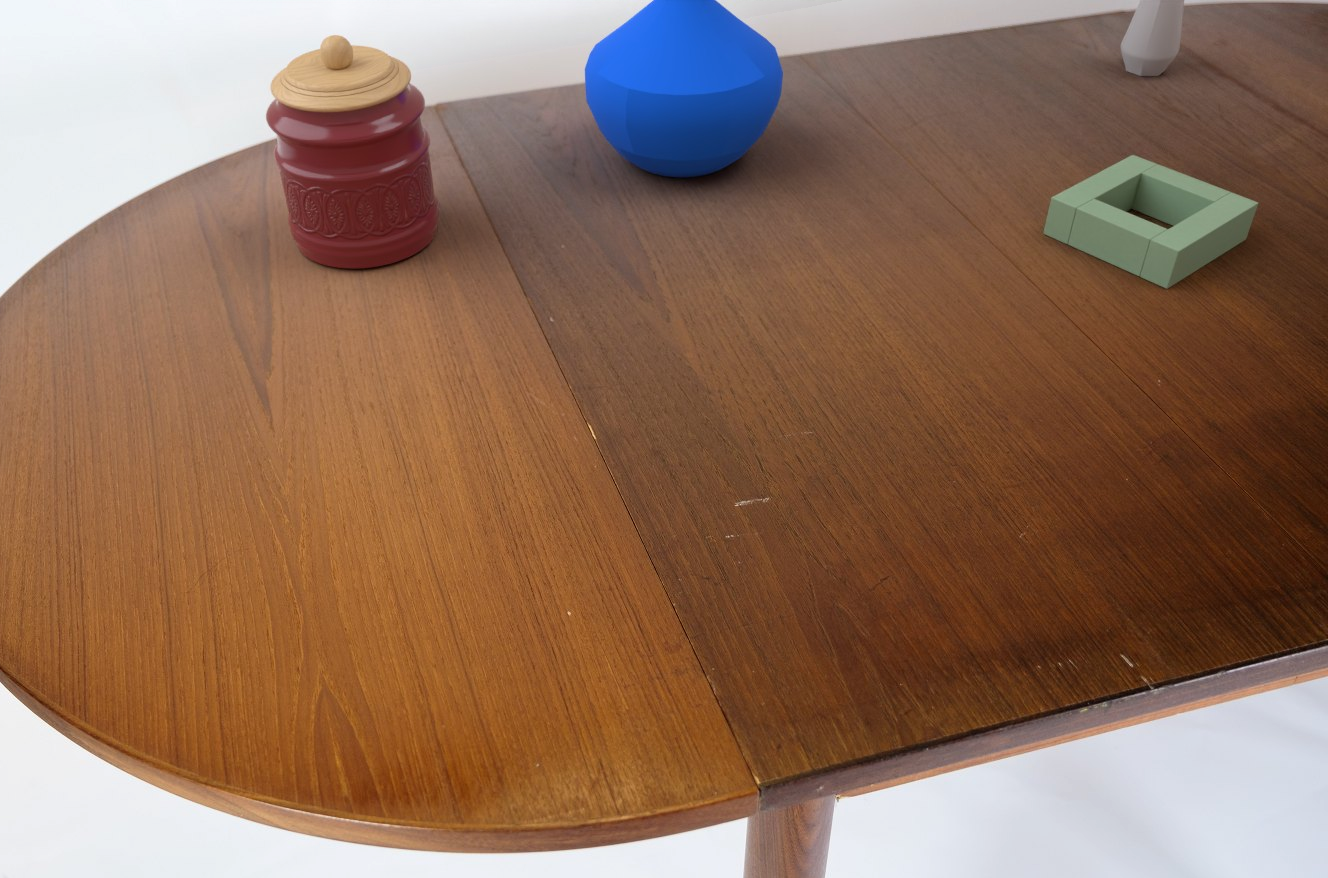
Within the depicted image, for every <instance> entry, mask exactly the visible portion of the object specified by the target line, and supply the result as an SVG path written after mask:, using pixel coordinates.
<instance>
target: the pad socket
mask: <svg viewBox="0 0 1328 878" xmlns="http://www.w3.org/2000/svg"><path fill="white" fill-rule="evenodd" d="M1258 206H1259V202H1257V201H1256V200H1252V199H1250V198H1247V197H1245V196H1243V195H1240V194H1237V193H1234V192H1232V191H1229V190H1226V189H1224V188H1221V187H1219V186H1216V185H1214V184H1211V183H1208V182H1206V181H1203V180H1201V179H1197V178H1196V177H1192V176H1190V175H1188V174H1185V173H1182V172H1179V171H1177V170H1174V169H1172V168H1170V167H1167V166H1163V165H1161V164H1158V163H1156V162H1153V161H1150V160H1148V159H1145V158H1143V157H1140V156H1137V155H1135V154H1131V155H1129V156H1128V157H1126V158H1124V159H1122V160H1120V161H1118V162H1116V163H1114V164H1112V165H1110V166H1108V167H1106V168H1105V169H1103V170H1100V171H1098V172H1096V173H1095V174H1093V175H1091V176H1090V177H1087V178H1086V179H1084V180H1082V181H1080V182H1078V183H1076V184H1074V185H1072V186H1070V187H1068V188H1067V189H1065V190H1062V191H1060V192H1059V193H1057V194H1056V195H1053V196H1051V198H1050V201H1049V206H1048V211H1047V214H1046V219H1045V224H1044V229H1043V233H1042V234H1043V235H1045V236H1048V237H1050V238H1052V239H1054V240H1056V241H1058V242H1061V243H1063V244H1065V245H1068V246H1070V247H1072V248H1074V249H1076V250H1079V251H1081V252H1082V253H1085V254H1088V255H1090V256H1092V257H1094V258H1097V259H1099V260H1101V261H1103V262H1106V263H1108V264H1109V265H1112V266H1115V267H1117V268H1119V269H1122V270H1123V271H1126V272H1128V273H1130V274H1133V275H1135V276H1137V277H1139V278H1142V279H1144V280H1146V281H1147V282H1151V283H1152V284H1155V285H1157V286H1159V287H1161V288H1163V289H1166V290H1168V289H1169V288H1172V286H1174V285H1176V284H1177V283H1179V282H1180V281H1182V280H1184V279H1185V278H1187V277H1189V276H1190V275H1192V274H1193V273H1194V272H1197V271H1198V270H1200V269H1201V268H1203V267H1204V266H1205V265H1208V264H1209V263H1211V262H1213V261H1214V260H1216V259H1218V258H1219V257H1221V256H1222V255H1224V254H1225V253H1227V252H1228V251H1230V250H1231V249H1233V248H1235V247H1236V246H1238V245H1240V244H1241V243H1243V242H1245V241H1246V240H1247V238H1248V235H1249V233H1250V229H1251V227H1252V224H1253V220H1254V218H1255V215H1256V213H1257V209H1258ZM1130 210H1132V211H1133V210H1134V211H1136V212H1138V213H1140V214H1144V215H1145V216H1148V217H1150V218H1153V219H1155V220H1157V221H1159V222H1162V223H1165V224H1167V225H1169V226H1172V227H1170V228H1166V227H1163V226H1161V225H1159V224H1157V223H1154V222H1152V221H1150V220H1146V219H1144V218H1142V217H1140V216H1137V215H1134V214H1133V213H1130V212H1128V211H1130Z"/></svg>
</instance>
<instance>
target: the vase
mask: <svg viewBox="0 0 1328 878" xmlns="http://www.w3.org/2000/svg"><path fill="white" fill-rule="evenodd" d="M783 76H784V71H783V68H782V64H781V62H780V57H779V55H778V52H777V48H776V46H775V45H773V43H771V42H770V40H768V38H766V37H764V36H763V35H762V34H761V33H759V32H758V31H757V30H755V29H754V28H752V27H751V26H750V25H748V24H746V22H744V21H743V20H741V19H740V18H738V17H737V16H736V15H735V14H733V13H732V12H731V11H730V10H729V9H727V8H726V7H725V6H723V5H722V4H721V3H720V2H719V1H717V0H651V2H649V3H648V4H647V5H646V6H644V7H643V8H642V9H640V10H639V11H638V12H636V13H635V14H634V15H633V16H631V18H629V19H628V20H627V21H625V22H624V23H623V24H622V25H620V26H619V27H617V28H616V29H615V30H613V31H612V32H610V33H609V34H608V35H607V36H605V37H604V38H602V39H600V41H598V42H597V43H595V45H594V46H593V48H592V49H591V51H590V53H589V56H588V58H587V61H586V64H585V66H584V84H585V85H584V86H585V100H586V104H587V106H588V108H589V110H590V112H591V114H592V117H593V118H594V121H595V123H596V125H597V127H598V130H599V131H600V133H601V134H602V136H603V137H604V139H605V140H606V142H608V144H609V145H611V147H612V148H613V149H614V150H615V151H616V153H618V155H620V156H621V157H623V158H624V159H625V160H627V161H628V162H629V163H631V164H632V165H634V166H636V167H638V168H639V169H641V170H642V171H645V172H648V173H650V174H654V175H658V176H663V177H668V178H669V177H670V178H695V177H700V176H701V177H702V176H707V175H710V174H713V173H716V172H719V171H721V170H723V169H724V168H726V167H728V166H729V165H731V164H733V163H734V162H737V161H738V160H739V159H741V158H742V157H743V156H744V155H746V153H747V152H748V151H749V150H750V149H751V148H752V146H753V145H755V144H756V142H757V141H758V140H759V139H760V138H761V137H762V136H763V135H764V133H765V131H766V130H767V127H768V125H769V123H770V121H771V119H772V118H773V115H774V113H775V111H776V109H777V107H778V105H779V102H780V99H781V96H782V88H783V78H784V77H783Z"/></svg>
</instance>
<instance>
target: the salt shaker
mask: <svg viewBox="0 0 1328 878" xmlns="http://www.w3.org/2000/svg"><path fill="white" fill-rule="evenodd" d="M1184 6H1185V0H1139V3H1138V5H1137V7H1136V9H1135V12H1134V14H1133V16H1132V18H1131V21H1130V23H1129V24H1128V25H1129V26H1128V28H1127V30H1126V32H1125V33H1124V37H1123V39H1122V41H1121V43H1120V49H1119V50H1120V53H1121V56H1122V60H1123V64H1124V68H1125V72H1129V73H1131V74H1134V75H1137V76H1139V77H1159V76H1160V75H1161V74H1162V73H1164V72H1165V71H1166V70H1167V69H1168V67H1169V66H1170V64H1172V62H1173V61H1174V60H1175V59H1176V57H1177V55H1178V53H1179V51H1180V48H1181V38H1182V37H1181V36H1182V28H1183V27H1182V26H1183V16H1184Z"/></svg>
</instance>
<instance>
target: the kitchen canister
mask: <svg viewBox="0 0 1328 878" xmlns="http://www.w3.org/2000/svg"><path fill="white" fill-rule="evenodd" d="M411 80H412V73H411V70H410V67H408V65H407V64H406V63H405V62H403V61H402V60H400V59H398V58H396V57H393V56H392V55H389V54H388V53H386V52H385V51H383V50H380V49H378V48H375V47H371V46H365V45H356V44H355V45H353V44H351V43H350V41H349V40H348V39H347V38H346V37H344V36H342V35H339V34H333V35H329V36H327V37H325V38H324V39H323V40H322V42H321V44H320V47H319V48H317V49H314V50H311V51H308V52H305V53H303V54H301V55H299V56H297V57H295V58H293V59H292V60H291V61H290V62H289V63H288V64H287V66H286V67H284V68H283V69H281V70H280V71H279V72H278V73H277V74H276V75H275V76H274V77H273V78H272V80H271V83H270V92H271V94H272V96H273V98H274V99H273V100H272V101H271V102H270V104H269V106H268V107H267V110H266V113H265V120H266V123H267V125H268V127H269V129H270V130H271V131H272V132H273V133H275V135H276V144H275V146H274V150H273V159H274V162H275V164H276V165H277V166H278V169H279V174H280V180H281V184H282V188H283V193H284V198H285V203H286V207H287V212H288V213H287V223H288V226H289V231H290V234H291V237H292V238H293V240H294V241H295V245H296V247H297V249H298V250H299V252H300V253H301V254H302V255H303V256H304V257H306V258H307V259H309V260H311V261H313V262H315V263H318V264H321V265H324V266H328V267H332V268H337V269H353V270H355V269H356V270H357V269H368V268H369V269H370V268H376V267H382V266H387V265H391V264H394V263H399V262H400V261H403V260H405V259H407V258H410V257H411V256H413V255H416V254H418V253H419V252H421V251H422V250H423V249H425V248H426V247H428V245H430V243H431V242H432V241H433V240H434V239H435V236H436V234H437V231H438V222H439V221H438V220H439V215H440V212H439V211H440V210H439V207H438V206H439V201H438V199H437V196H436V194H435V187H434V180H433V173H432V164H431V156H430V145H431V138H430V134H429V132H428V130H427V129H426V128H425V126H424V125H423V124H422V120H421V119H422V118H421V116H422V115H423V112H424V110H425V107H426V100H425V97H424V94H423V93H422V91H420V89H419V88H418V87H417V86H415V85H414V84H412V83H411Z"/></svg>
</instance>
